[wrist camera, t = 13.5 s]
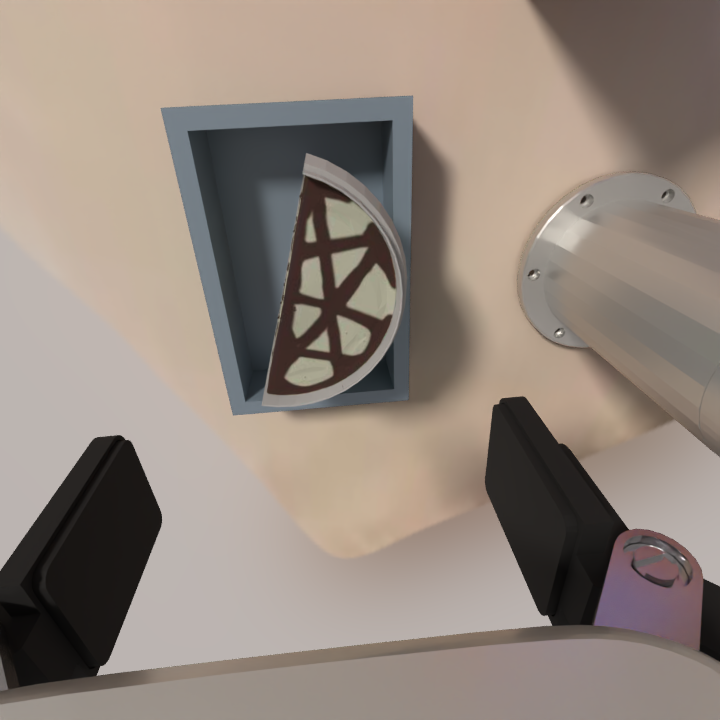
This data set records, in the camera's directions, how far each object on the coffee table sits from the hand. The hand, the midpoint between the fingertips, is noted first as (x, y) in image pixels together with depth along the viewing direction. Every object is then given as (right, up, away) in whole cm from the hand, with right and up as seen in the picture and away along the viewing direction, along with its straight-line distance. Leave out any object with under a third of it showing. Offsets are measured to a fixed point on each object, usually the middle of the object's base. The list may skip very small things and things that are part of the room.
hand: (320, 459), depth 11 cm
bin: (-2, +10, +18) cm, 21 cm away
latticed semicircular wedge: (0, +10, +17) cm, 20 cm away
